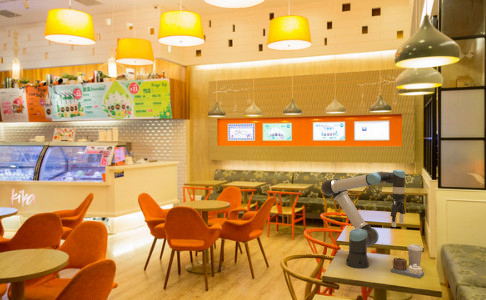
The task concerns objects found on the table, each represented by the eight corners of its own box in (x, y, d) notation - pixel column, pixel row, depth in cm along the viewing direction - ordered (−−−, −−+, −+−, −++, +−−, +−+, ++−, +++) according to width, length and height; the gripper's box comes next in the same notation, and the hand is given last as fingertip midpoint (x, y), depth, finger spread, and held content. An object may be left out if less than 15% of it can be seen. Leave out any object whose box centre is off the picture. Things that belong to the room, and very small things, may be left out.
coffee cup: (423, 271, 257) (424, 248, 257) (408, 269, 259) (408, 247, 259) (420, 266, 267) (421, 244, 266) (405, 265, 269) (406, 243, 268)
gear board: (390, 271, 255) (390, 261, 254) (395, 268, 261) (395, 258, 261) (419, 278, 243) (419, 267, 243) (424, 275, 250) (424, 264, 249)
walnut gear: (403, 271, 250) (404, 262, 249) (391, 268, 255) (391, 259, 254) (408, 268, 255) (408, 259, 255) (395, 265, 261) (396, 256, 260)
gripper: (397, 195, 250) (396, 228, 250) (410, 192, 268) (409, 223, 269) (385, 194, 255) (384, 227, 255) (399, 191, 273) (398, 221, 274)
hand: (397, 225), depth 262 cm, fingers open, 13 cm apart
